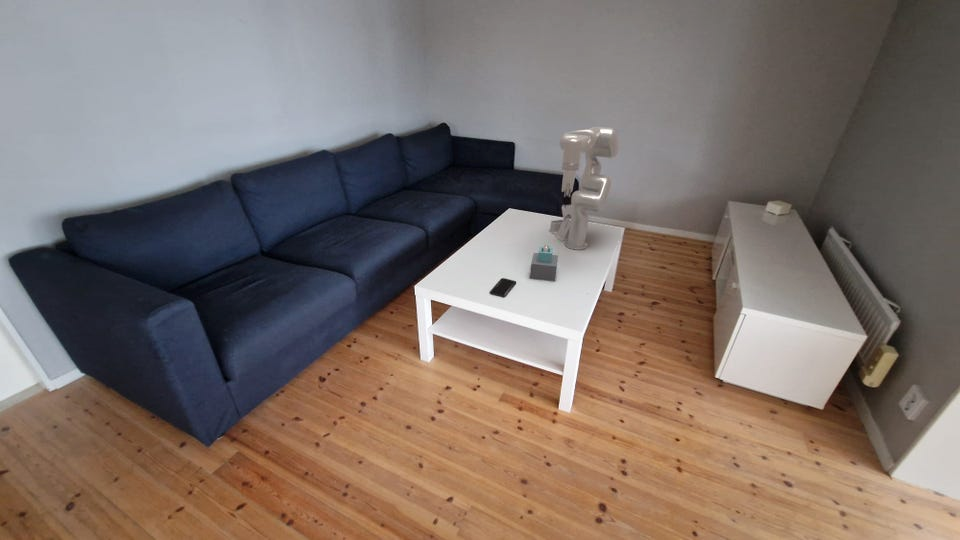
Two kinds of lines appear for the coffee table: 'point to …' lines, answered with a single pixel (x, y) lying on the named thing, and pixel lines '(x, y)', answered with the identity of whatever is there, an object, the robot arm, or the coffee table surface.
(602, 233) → the coffee table surface
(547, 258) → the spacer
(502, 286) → the phone
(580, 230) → the robot arm
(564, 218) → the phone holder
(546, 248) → the shaft
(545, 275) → the bearing block
